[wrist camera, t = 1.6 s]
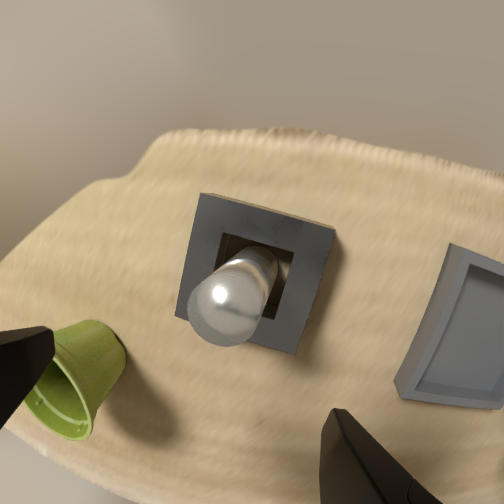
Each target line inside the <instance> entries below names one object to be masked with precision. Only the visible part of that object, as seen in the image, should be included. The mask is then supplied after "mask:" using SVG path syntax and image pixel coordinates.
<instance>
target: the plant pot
mask: <svg viewBox="0 0 504 504" xmlns="http://www.w3.org/2000/svg"><path fill="white" fill-rule="evenodd" d="M53 333H54V341H55V356H54V358H53V359H52V361H51V362H50V364H49V365H48V367H47V368H46V370H45V371H44V373H43V374H42V376H41V377H40V379H39V380H38V382H37V383H36V385H35V386H34V388H33V389H32V390H31V392H30V393H29V394H28V395H27V396H26V398H25V399H24V400H23V403H24V404H25V406H26V407H27V408H28V409H29V411H30V412H31V413H32V414H33V415H34V416H35V417H36V418H37V420H38V421H40V422H41V423H42V424H43V425H44V426H45V427H46V428H48V429H49V430H50V431H52V432H53V433H55V434H57V435H58V436H60V437H63V438H65V439H67V440H71V441H83V440H85V439H87V438H88V437H89V436H90V434H91V433H92V430H93V421H94V419H95V417H96V413H97V410H98V408H99V407H100V405H101V403H102V402H103V400H104V399H105V397H106V396H107V395H108V393H109V392H110V390H111V389H112V387H113V386H114V384H115V383H116V381H117V380H118V378H119V377H120V375H121V374H122V372H123V371H124V369H125V365H126V356H125V351H124V348H123V346H122V345H121V344H120V343H119V342H118V340H117V339H116V337H115V335H114V332H113V331H112V330H111V329H110V328H109V327H107V326H106V325H104V324H103V323H101V322H98V321H95V320H85V321H82V322H80V323H77V324H74V325H72V326H69V327H66V328H63V329H60V330H57V331H54V332H53Z"/></svg>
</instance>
